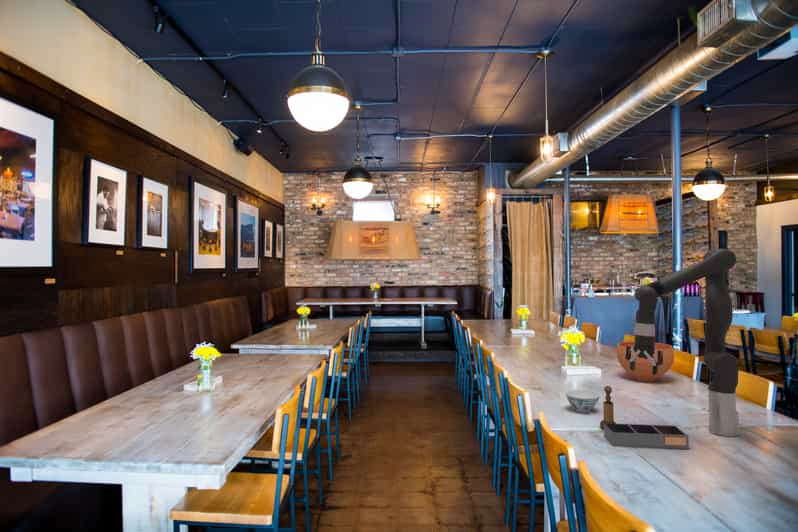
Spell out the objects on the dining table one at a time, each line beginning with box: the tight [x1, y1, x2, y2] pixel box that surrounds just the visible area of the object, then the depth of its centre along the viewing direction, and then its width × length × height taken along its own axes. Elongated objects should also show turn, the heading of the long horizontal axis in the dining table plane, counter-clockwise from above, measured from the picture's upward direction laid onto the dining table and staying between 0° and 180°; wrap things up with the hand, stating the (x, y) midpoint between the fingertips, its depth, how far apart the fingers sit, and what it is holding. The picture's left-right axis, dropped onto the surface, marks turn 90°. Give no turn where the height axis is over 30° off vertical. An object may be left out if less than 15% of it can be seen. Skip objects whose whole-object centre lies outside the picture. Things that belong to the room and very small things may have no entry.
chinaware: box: [565, 389, 600, 413], centre depth 222 cm, size 15×15×8 cm
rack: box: [603, 422, 690, 450], centre depth 181 cm, size 27×12×5 cm, turn 81°
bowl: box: [616, 340, 675, 382], centre depth 278 cm, size 30×30×20 cm
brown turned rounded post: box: [599, 385, 618, 431], centre depth 197 cm, size 7×6×18 cm
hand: (643, 372), depth 194 cm, fingers open, 8 cm apart
